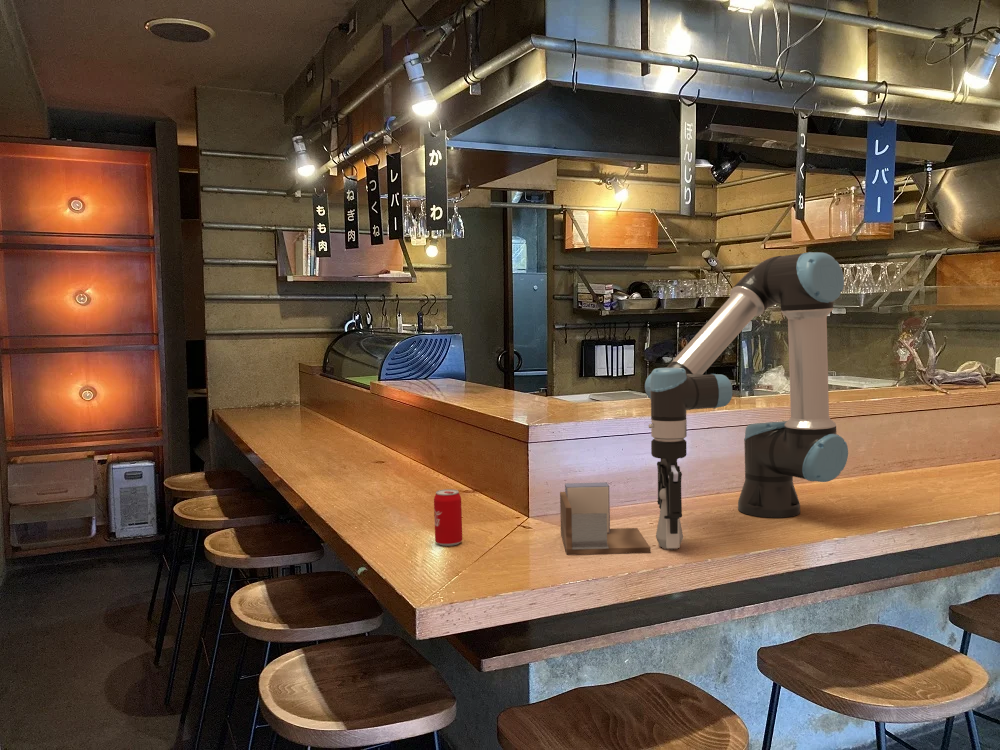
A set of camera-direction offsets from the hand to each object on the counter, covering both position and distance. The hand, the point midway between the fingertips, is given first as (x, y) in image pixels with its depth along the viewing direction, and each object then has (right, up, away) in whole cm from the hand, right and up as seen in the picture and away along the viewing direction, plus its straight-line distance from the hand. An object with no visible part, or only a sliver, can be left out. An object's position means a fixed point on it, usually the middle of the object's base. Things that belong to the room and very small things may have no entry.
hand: (669, 543), depth 174 cm
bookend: (-18, 0, -3) cm, 18 cm away
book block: (-17, +1, +10) cm, 20 cm away
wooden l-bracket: (-14, -1, +4) cm, 15 cm away
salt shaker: (0, -1, 0) cm, 1 cm away
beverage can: (-49, -2, +7) cm, 50 cm away
